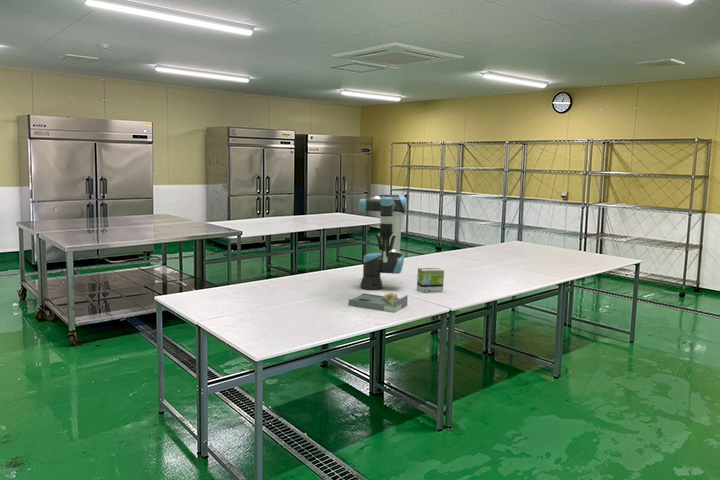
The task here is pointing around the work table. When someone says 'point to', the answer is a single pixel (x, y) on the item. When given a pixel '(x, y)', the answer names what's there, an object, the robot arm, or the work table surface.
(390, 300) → the block
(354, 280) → the work table surface
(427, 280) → the tea box
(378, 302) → the board
